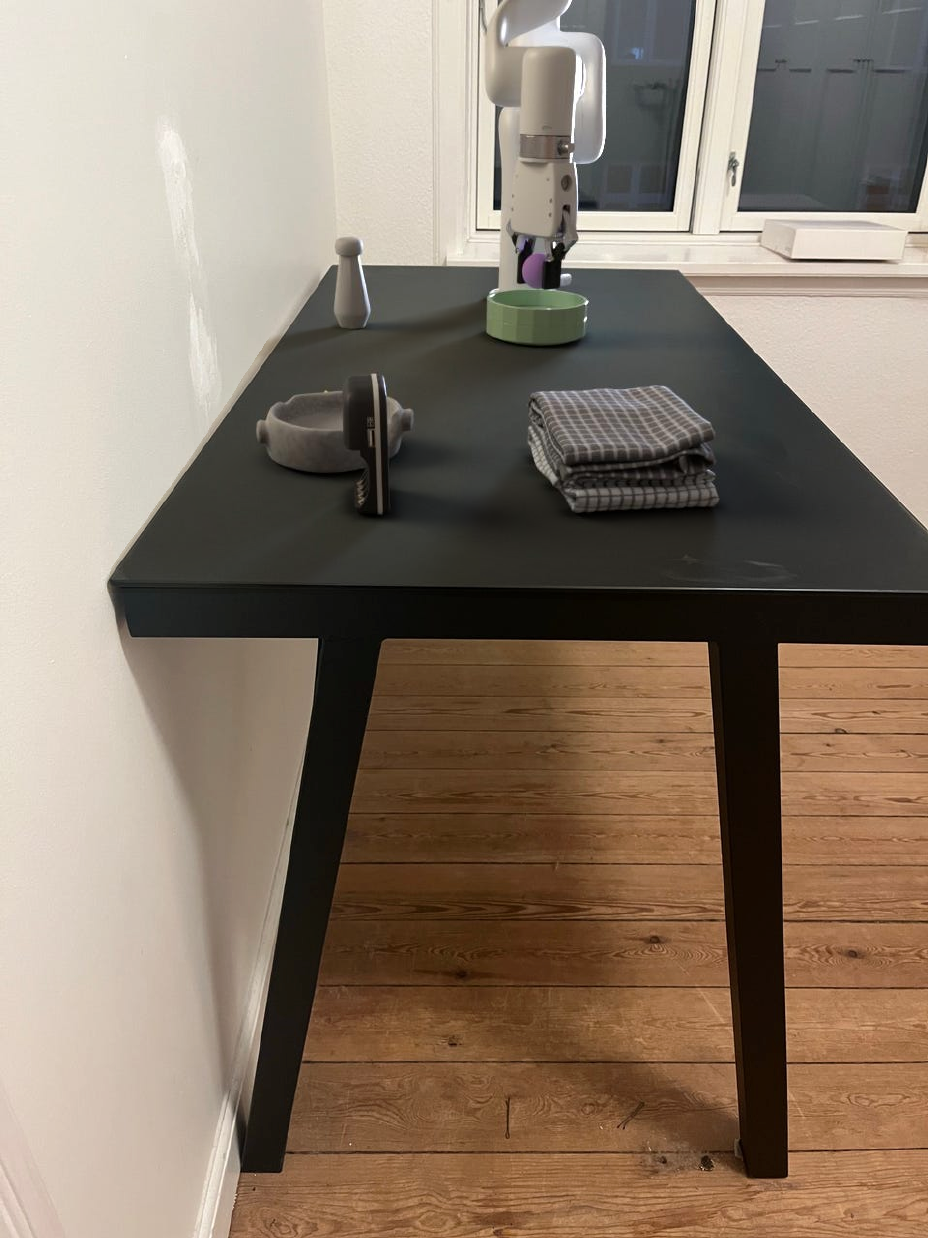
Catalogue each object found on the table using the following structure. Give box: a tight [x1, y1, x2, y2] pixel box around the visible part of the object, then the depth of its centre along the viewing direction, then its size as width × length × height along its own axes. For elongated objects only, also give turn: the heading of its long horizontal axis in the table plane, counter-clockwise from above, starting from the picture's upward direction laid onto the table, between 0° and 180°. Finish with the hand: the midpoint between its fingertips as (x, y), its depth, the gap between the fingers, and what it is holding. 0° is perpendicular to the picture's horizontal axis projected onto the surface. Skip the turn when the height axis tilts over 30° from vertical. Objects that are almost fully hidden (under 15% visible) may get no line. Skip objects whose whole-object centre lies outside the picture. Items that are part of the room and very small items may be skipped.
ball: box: [522, 253, 547, 289], centre depth 136 cm, size 5×5×5 cm
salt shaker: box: [333, 236, 372, 330], centre depth 142 cm, size 6×6×13 cm
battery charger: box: [342, 373, 391, 516], centre depth 81 cm, size 7×4×11 cm, turn 7°
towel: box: [526, 384, 720, 514], centre depth 89 cm, size 15×18×8 cm
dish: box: [255, 390, 414, 474], centre depth 94 cm, size 14×14×5 cm
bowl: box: [485, 289, 589, 346], centre depth 140 cm, size 15×15×6 cm
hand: (538, 284), depth 137 cm, fingers closed on ball, 4 cm apart
